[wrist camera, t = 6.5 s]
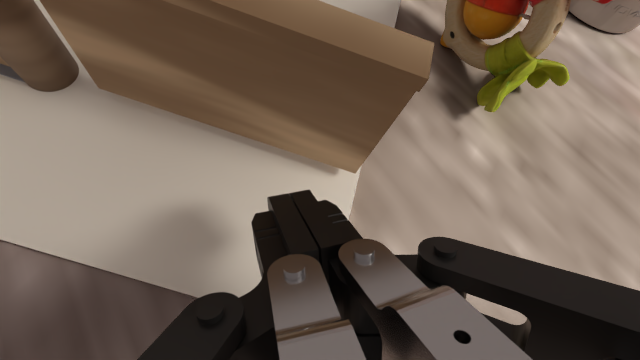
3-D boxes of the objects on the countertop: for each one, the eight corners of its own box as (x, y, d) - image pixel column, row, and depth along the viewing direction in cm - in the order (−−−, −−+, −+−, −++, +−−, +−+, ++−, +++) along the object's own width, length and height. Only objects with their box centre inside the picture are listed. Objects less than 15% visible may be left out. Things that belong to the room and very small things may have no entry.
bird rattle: (403, 81, 24) (516, 144, 19) (436, -121, 16) (648, -102, 11) (458, 53, 27) (572, 104, 22) (511, -135, 18) (715, -124, 13)
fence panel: (112, 68, 16) (8, -115, 9) (360, 152, 17) (434, 43, 10) (95, 92, 16) (-29, -86, 9) (353, 178, 16) (428, 79, 10)
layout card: (24, -150, 23) (18, -163, 22) (400, -7, 25) (404, -16, 24) (-360, 133, 13) (-392, 124, 12) (318, 332, 15) (321, 333, 14)
